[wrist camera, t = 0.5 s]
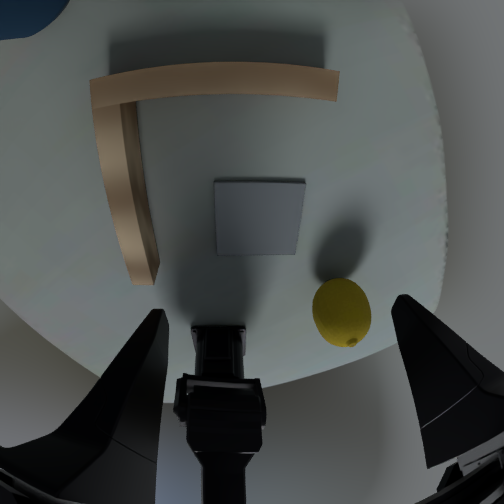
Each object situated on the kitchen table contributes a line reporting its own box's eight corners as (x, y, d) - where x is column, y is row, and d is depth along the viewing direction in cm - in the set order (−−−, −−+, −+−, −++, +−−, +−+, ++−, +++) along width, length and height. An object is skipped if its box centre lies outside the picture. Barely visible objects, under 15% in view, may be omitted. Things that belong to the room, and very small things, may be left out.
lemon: (347, 253, 26) (376, 317, 19) (360, 285, 29) (385, 345, 23) (296, 276, 27) (313, 344, 21) (316, 306, 30) (332, 367, 24)
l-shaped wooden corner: (298, 260, 26) (304, 283, 23) (140, 262, 25) (132, 284, 22) (324, 69, 15) (339, 71, 13) (108, 76, 14) (89, 80, 12)
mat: (294, 252, 25) (295, 254, 25) (217, 253, 25) (217, 255, 24) (305, 182, 21) (305, 183, 21) (214, 181, 20) (214, 182, 20)
